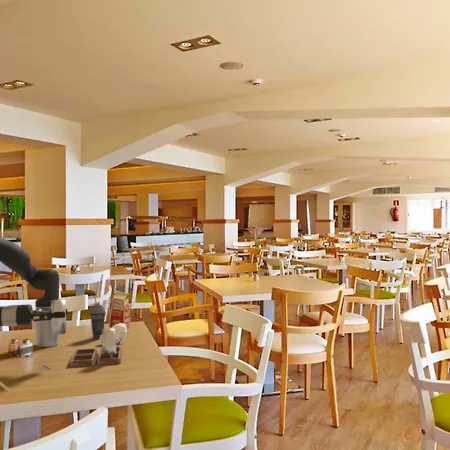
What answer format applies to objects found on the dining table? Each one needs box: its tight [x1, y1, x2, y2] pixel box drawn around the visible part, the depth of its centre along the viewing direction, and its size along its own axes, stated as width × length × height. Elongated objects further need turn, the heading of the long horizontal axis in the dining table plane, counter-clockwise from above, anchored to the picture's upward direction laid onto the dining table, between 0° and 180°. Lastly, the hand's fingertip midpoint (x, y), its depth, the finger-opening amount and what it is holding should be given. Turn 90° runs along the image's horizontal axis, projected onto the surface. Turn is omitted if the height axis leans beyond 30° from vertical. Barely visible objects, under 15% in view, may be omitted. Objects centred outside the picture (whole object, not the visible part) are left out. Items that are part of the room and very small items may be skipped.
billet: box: [101, 327, 117, 359], centre depth 181 cm, size 5×5×12 cm
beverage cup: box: [89, 294, 106, 340], centre depth 224 cm, size 7×7×20 cm
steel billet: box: [51, 298, 67, 336], centre depth 178 cm, size 5×5×12 cm
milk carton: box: [108, 290, 131, 333], centre depth 238 cm, size 9×9×20 cm
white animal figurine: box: [99, 323, 128, 345], centre depth 213 cm, size 6×8×12 cm
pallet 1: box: [69, 347, 99, 368], centre depth 184 cm, size 18×9×3 cm, turn 10°
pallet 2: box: [96, 346, 123, 366], centre depth 186 cm, size 18×9×3 cm, turn 10°
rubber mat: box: [39, 364, 50, 371], centre depth 178 cm, size 9×9×1 cm
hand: (66, 313), depth 178 cm, fingers closed on steel billet, 5 cm apart
